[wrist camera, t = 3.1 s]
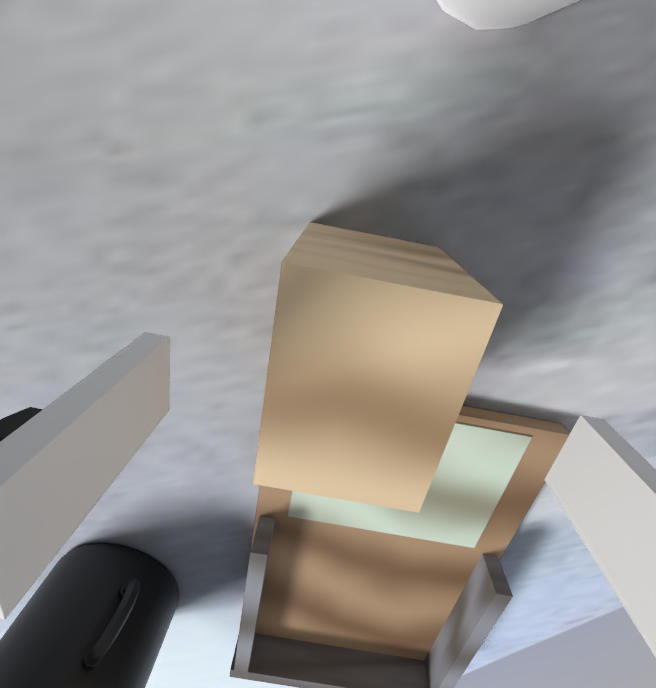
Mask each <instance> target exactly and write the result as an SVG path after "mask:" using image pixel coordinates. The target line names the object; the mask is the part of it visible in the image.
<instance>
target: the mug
mask: <svg viewBox="0 0 656 688" xmlns="http://www.w3.org/2000/svg"><path fill="white" fill-rule="evenodd" d="M177 605H178V587H177V584H176V582H175V580H174V578H173V577H172V575H171V574H170V573H169V572H168V571H167V570H166V569H165V568H164V567H163V566H162V565H161V564H160V563H158V562H157V561H155V560H154V559H152V558H151V557H149V556H147V555H145V554H143V553H141V552H138V551H136V550H133V549H130V548H127V547H123V546H118V545H111V544H89V545H85V546H81V547H78V548H75V549H73V550H72V551H70V552H69V553H67V554H66V555H64V556H63V557H62V558H61V559H60V560H59V561H58V562H57V564H56V565H55V566H54V568H53V569H52V571H51V572H50V573H49V575H48V576H47V577H46V579H45V580H44V581H43V583H42V584H41V585H40V587H39V588H38V589H37V591H36V592H35V594H34V595H33V596H32V598H31V599H30V600H29V602H28V603H27V604H26V606H25V607H24V608H23V610H22V611H21V613H20V614H19V615H18V617H17V618H16V619H15V621H14V622H13V623H12V625H11V626H10V627H9V629H8V630H7V631H6V633H5V634H4V636H3V637H2V638H1V640H0V688H145V686H146V684H147V681H148V679H149V676H150V674H151V671H152V668H153V666H154V663H155V661H156V658H157V656H158V653H159V651H160V648H161V646H162V643H163V640H164V638H165V635H166V633H167V630H168V628H169V625H170V623H171V620H172V617H173V615H174V612H175V610H176V607H177Z"/></svg>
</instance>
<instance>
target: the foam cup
mask: <svg viewBox="0 0 656 688" xmlns="http://www.w3.org/2000/svg"><path fill="white" fill-rule="evenodd" d="M577 1H580V0H437V2H438V3H439V5H440V7H441V9H442V10H443V11H444V12H446V13H447V14H449V15H451V16H453V17H454V18H456V19H458V20H460V21H461V22H463V23H465V24H467V25H468V26H470V27H472V28H474V29H475V30H487V29H505V28H516V27H518V26H520V25H525V24H527V23H529V22H532V21H534V20H536V19H539V18H541V17H543V16H545V15H548V14H550V13H552V12H555V11H557V10H559V9H561V8H564V7H566V6H568V5H571V4H573V3H575V2H577Z"/></svg>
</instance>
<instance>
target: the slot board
mask: <svg viewBox="0 0 656 688" xmlns="http://www.w3.org/2000/svg"><path fill="white" fill-rule="evenodd" d="M569 435H570V433H569V431H568V430H567V429H566V428H565V427H564V425H563V424H561V423H555V422H550V421H544V420H539V419H533V418H528V417H522V416H517V415H511V414H506V413H500V412H495V411H490V410H484V409H479V408H473V407H468V406H462V408H461V410H460V413H459V415H458V418H457V420H456V423H455V425H454V428H453V430H452V433H451V435H450V438H449V440H448V443H447V445H446V447H445V450H444V452H443V455H442V457H441V460H440V462H439V465H438V467H437V470H436V472H435V475H434V477H433V480H432V482H431V485H430V487H429V489H428V492H427V494H426V497H425V499H424V502H423V504H422V507H421V509H420V512H419V513H417V512H411V511H406V510H400V509H394V508H388V507H383V506H377V505H371V504H365V503H360V502H354V501H348V500H342V499H336V498H331V497H325V496H319V495H313V494H308V493H302V492H296V491H290V490H285V489H279V488H273V487H267V486H262V485H260V488H259V495H258V502H257V509H256V517H255V524H254V531H253V538H252V545H251V551H250V558H249V565H248V572H247V579H246V587H245V594H244V601H243V608H242V615H241V623H240V630H239V636H238V640H237V644H236V648H235V653H234V657H233V661H232V665H231V670H230V677H235V678H242V679H248V680H254V681H261V682H267V683H273V684H280V685H286V686H292V687H299V688H454V687H455V685H456V684H457V682H458V680H459V679H460V677H461V676H462V674H463V673H464V671H465V670H466V668H467V667H468V665H469V663H470V662H471V660H472V659H473V657H474V656H475V654H476V653H477V651H478V649H479V648H480V646H481V645H482V643H483V642H484V640H485V639H486V637H487V635H488V634H489V632H490V631H491V629H492V628H493V626H494V625H495V623H496V622H497V620H498V618H499V617H500V615H501V614H502V612H503V611H504V609H505V608H506V606H507V604H508V603H509V601H510V600H511V598H512V597H513V596H512V593H511V590H510V588H509V585H508V583H507V580H506V577H505V575H504V572H503V569H502V567H501V564H500V562H499V560H500V558H501V557H502V555H503V553H504V551H505V550H506V548H507V546H508V544H509V543H510V541H511V539H512V538H513V536H514V534H515V532H516V531H517V529H518V527H519V525H520V524H521V522H522V520H523V519H524V517H525V515H526V513H527V512H528V510H529V508H530V507H531V505H532V503H533V501H534V500H535V498H536V496H537V494H538V493H539V491H540V489H541V488H542V486H543V484H544V482H545V480H544V479H545V478H546V476H547V474H548V472H549V471H550V469H551V467H552V465H553V463H554V462H555V460H556V458H557V456H558V454H559V453H560V451H561V449H562V447H563V445H564V444H565V442H566V440H567V438H568V437H569Z"/></svg>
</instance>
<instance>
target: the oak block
mask: <svg viewBox="0 0 656 688" xmlns="http://www.w3.org/2000/svg"><path fill="white" fill-rule="evenodd" d="M502 307H503V304H502V303H501V302H500V301H499V300H498V299H497V298H496V297H494V296H493V295H492V294H491V293H490V292H489V291H488V290H487V289H485V288H484V287H483V286H482V285H481V284H480V283H479V282H478V281H476V280H475V279H474V278H473V277H472V276H471V275H470V274H469V273H467V272H466V271H465V270H464V269H463V268H462V267H461V266H460V265H459V264H457V263H456V262H455V261H454V260H453V259H452V258H451V257H450V256H448V255H447V254H446V253H445V252H444V251H443V250H442V249H441V248H439V247H435V246H430V245H425V244H420V243H415V242H410V241H405V240H399V239H394V238H389V237H384V236H379V235H374V234H369V233H364V232H359V231H354V230H348V229H343V228H338V227H333V226H328V225H323V224H318V223H313V222H310V223H309V224H308V226H307V227H306V229H305V230H304V231H303V233H302V234H301V236H300V237H299V238H298V240H297V241H296V243H295V244H294V245H293V247H292V248H291V250H290V251H289V252H288V254H287V255H286V257H285V258H284V259H283V261H282V264H281V272H280V280H279V287H278V295H277V303H276V311H275V318H274V326H273V334H272V342H271V349H270V357H269V365H268V373H267V381H266V388H265V396H264V404H263V412H262V419H261V427H260V435H259V443H258V450H257V458H256V466H255V474H254V481H253V484H256V485H262V486H267V487H273V488H279V489H285V490H290V491H296V492H302V493H308V494H313V495H319V496H325V497H331V498H336V499H342V500H348V501H354V502H360V503H365V504H371V505H377V506H383V507H388V508H394V509H400V510H406V511H411V512H417V513H419V512H420V509H421V507H422V504H423V502H424V499H425V497H426V494H427V492H428V489H429V487H430V485H431V482H432V480H433V477H434V475H435V472H436V470H437V467H438V465H439V462H440V460H441V457H442V455H443V452H444V450H445V447H446V445H447V443H448V440H449V438H450V435H451V433H452V430H453V428H454V425H455V423H456V420H457V418H458V415H459V413H460V410H461V408H462V405H463V403H464V401H465V398H466V396H467V393H468V391H469V388H470V386H471V383H472V381H473V378H474V376H475V373H476V371H477V368H478V366H479V363H480V361H481V359H482V356H483V354H484V351H485V349H486V346H487V344H488V341H489V339H490V336H491V334H492V331H493V329H494V326H495V324H496V321H497V319H498V317H499V314H500V312H501V309H502Z"/></svg>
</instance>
